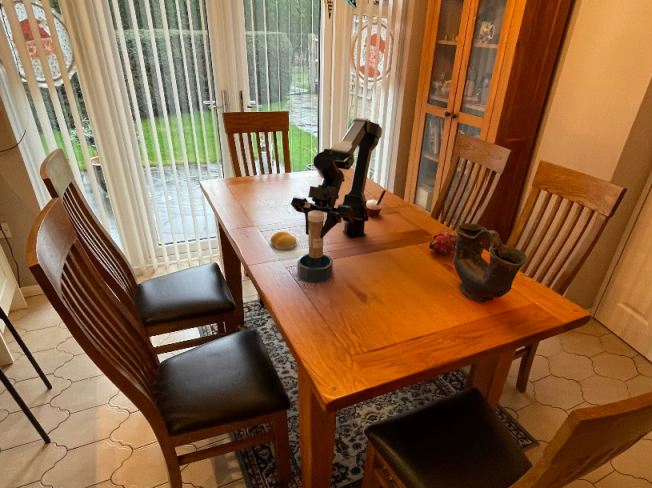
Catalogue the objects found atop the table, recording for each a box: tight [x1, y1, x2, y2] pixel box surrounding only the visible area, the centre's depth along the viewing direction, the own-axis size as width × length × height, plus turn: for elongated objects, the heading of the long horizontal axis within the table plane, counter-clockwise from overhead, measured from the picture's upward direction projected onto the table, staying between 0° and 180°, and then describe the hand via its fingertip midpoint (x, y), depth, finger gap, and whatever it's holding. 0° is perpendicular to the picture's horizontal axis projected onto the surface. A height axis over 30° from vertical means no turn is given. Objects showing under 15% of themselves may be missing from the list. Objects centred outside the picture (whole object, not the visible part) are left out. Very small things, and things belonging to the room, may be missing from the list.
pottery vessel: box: [452, 222, 528, 304], centre depth 120 cm, size 25×11×20 cm, turn 23°
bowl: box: [296, 253, 334, 284], centre depth 129 cm, size 10×10×4 cm
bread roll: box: [270, 230, 298, 250], centre depth 145 cm, size 8×9×4 cm
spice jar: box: [307, 211, 325, 258], centre depth 123 cm, size 5×5×13 cm
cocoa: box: [366, 189, 387, 218], centre depth 170 cm, size 10×6×12 cm, turn 19°
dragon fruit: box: [428, 230, 457, 256], centre depth 145 cm, size 8×8×12 cm
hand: (313, 236), depth 122 cm, fingers closed on spice jar, 4 cm apart
